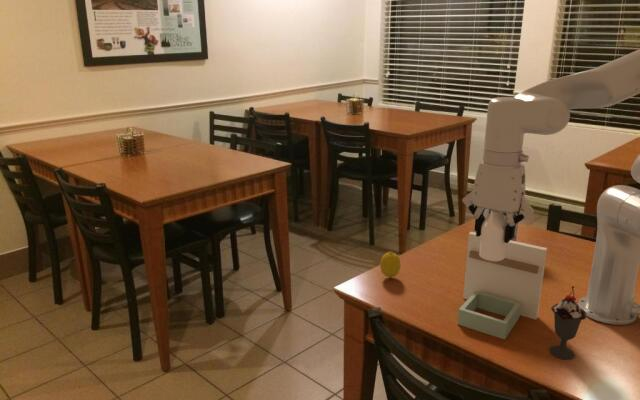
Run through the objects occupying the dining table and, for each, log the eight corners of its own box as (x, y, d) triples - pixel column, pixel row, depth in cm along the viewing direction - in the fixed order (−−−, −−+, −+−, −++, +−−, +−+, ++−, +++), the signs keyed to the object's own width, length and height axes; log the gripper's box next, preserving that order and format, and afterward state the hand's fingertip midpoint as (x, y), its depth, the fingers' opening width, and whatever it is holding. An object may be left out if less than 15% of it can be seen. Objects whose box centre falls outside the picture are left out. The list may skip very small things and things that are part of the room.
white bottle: (503, 211, 109) (478, 205, 112) (497, 263, 112) (473, 256, 116) (515, 204, 113) (491, 198, 116) (509, 255, 117) (485, 248, 120)
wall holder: (537, 317, 125) (547, 248, 120) (520, 344, 115) (530, 270, 109) (465, 296, 135) (470, 231, 130) (443, 319, 125) (448, 250, 119)
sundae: (569, 343, 115) (579, 282, 110) (585, 361, 109) (596, 297, 104) (539, 344, 115) (548, 282, 110) (553, 362, 108) (563, 298, 104)
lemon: (384, 283, 142) (385, 256, 140) (377, 275, 147) (377, 248, 145) (403, 281, 144) (404, 254, 141) (395, 272, 149) (396, 246, 146)
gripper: (549, 159, 107) (538, 241, 113) (468, 149, 117) (462, 224, 123) (540, 167, 102) (529, 252, 107) (455, 155, 111) (449, 234, 117)
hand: (493, 236), depth 115 cm, fingers closed on white bottle, 5 cm apart
